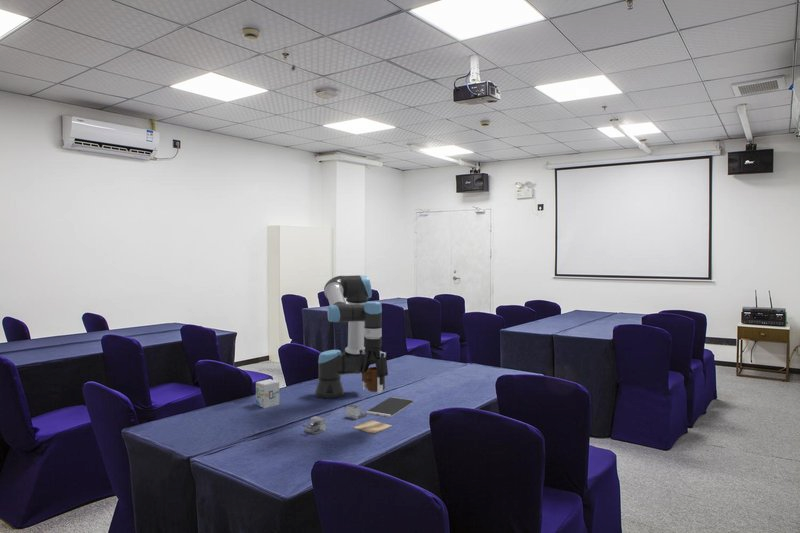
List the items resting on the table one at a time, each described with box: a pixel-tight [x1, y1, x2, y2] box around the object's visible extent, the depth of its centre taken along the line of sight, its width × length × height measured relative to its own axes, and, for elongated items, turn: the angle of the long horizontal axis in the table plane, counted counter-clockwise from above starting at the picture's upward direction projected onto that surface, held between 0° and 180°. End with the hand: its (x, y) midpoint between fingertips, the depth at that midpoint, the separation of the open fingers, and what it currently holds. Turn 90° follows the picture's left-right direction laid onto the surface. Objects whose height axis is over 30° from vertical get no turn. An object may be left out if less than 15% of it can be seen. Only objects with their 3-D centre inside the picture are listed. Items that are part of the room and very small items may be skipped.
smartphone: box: [365, 396, 414, 418], centre depth 246 cm, size 13×27×2 cm, turn 155°
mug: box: [361, 366, 386, 393], centre depth 217 cm, size 12×8×9 cm, turn 138°
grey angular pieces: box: [302, 404, 367, 436], centre depth 221 cm, size 7×33×5 cm, turn 142°
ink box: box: [255, 378, 280, 409], centre depth 250 cm, size 8×8×12 cm
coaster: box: [352, 419, 393, 435], centre depth 217 cm, size 12×12×1 cm
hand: (372, 390), depth 217 cm, fingers closed on mug, 7 cm apart
